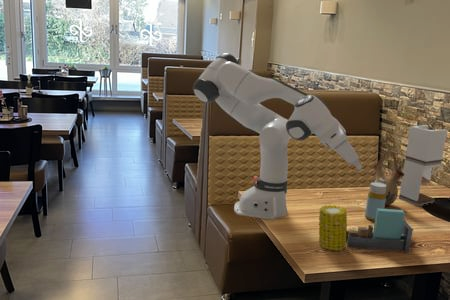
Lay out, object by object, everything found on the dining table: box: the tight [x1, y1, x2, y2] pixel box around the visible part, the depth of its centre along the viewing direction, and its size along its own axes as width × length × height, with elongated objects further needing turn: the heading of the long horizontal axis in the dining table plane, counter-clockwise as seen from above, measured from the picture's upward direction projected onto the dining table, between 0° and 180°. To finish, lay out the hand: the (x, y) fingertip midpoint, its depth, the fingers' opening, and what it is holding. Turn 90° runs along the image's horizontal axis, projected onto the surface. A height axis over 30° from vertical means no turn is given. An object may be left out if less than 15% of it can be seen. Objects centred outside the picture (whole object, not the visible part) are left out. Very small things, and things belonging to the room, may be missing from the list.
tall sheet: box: [373, 208, 405, 239], centre depth 153 cm, size 9×2×14 cm, turn 87°
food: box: [318, 204, 348, 252], centre depth 152 cm, size 15×12×10 cm
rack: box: [346, 220, 414, 254], centre depth 154 cm, size 21×8×9 cm, turn 87°
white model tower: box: [398, 124, 448, 207], centre depth 200 cm, size 11×11×35 cm
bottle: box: [364, 181, 386, 222], centre depth 178 cm, size 7×7×15 cm
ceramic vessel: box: [372, 150, 404, 207], centre depth 194 cm, size 16×9×25 cm, turn 30°
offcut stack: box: [347, 224, 374, 240], centre depth 155 cm, size 8×2×8 cm, turn 87°
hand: (356, 164), depth 151 cm, fingers open, 8 cm apart
